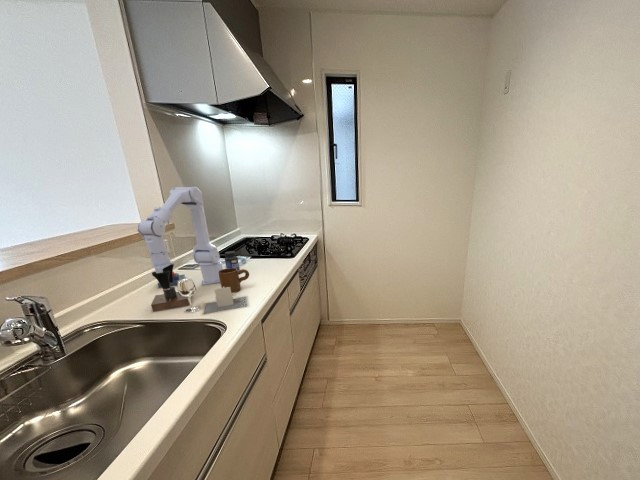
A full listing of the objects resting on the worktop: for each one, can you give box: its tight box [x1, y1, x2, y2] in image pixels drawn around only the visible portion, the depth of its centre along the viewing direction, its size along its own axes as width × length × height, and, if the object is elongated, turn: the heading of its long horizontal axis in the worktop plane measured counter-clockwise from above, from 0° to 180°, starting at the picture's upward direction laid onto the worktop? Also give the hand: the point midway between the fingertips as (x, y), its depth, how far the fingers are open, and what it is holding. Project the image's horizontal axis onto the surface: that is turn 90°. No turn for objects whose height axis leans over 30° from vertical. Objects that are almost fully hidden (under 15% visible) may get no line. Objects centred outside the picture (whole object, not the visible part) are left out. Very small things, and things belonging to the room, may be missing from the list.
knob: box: [162, 286, 177, 299], centre depth 124 cm, size 4×4×4 cm
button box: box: [157, 272, 187, 289], centre depth 149 cm, size 10×10×4 cm
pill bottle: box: [224, 250, 241, 271], centre depth 162 cm, size 6×6×11 cm
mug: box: [219, 268, 250, 293], centre depth 138 cm, size 12×8×9 cm, turn 111°
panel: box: [150, 291, 192, 313], centre depth 126 cm, size 12×11×3 cm
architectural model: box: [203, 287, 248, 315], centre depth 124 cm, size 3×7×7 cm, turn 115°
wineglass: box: [176, 278, 200, 313], centre depth 118 cm, size 6×6×12 cm
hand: (168, 285), depth 124 cm, fingers open, 7 cm apart
